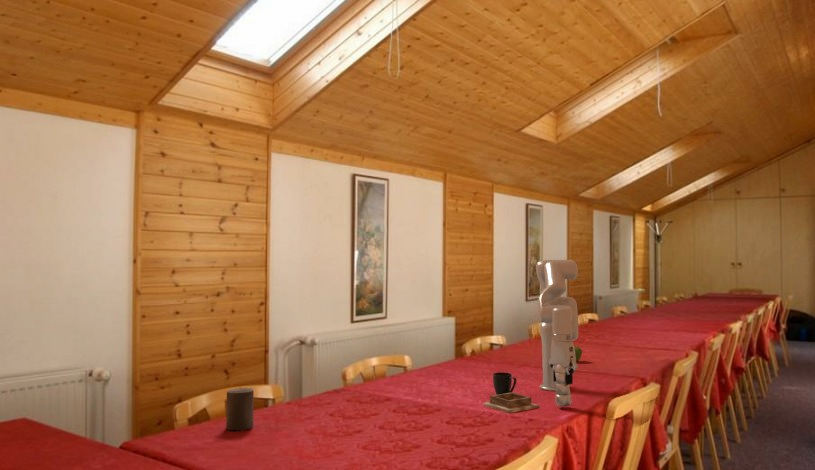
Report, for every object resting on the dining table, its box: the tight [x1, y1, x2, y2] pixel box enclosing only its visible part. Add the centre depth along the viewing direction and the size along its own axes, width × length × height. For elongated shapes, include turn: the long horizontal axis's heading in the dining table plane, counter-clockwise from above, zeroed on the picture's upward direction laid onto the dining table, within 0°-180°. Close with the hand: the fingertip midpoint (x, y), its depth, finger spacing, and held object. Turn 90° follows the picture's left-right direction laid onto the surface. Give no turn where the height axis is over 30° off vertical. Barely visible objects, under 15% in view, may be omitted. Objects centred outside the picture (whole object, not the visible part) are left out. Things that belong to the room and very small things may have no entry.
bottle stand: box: [482, 392, 540, 414], centre depth 255 cm, size 16×16×4 cm
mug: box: [492, 371, 518, 395], centre depth 275 cm, size 8×12×10 cm
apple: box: [574, 345, 583, 363], centre depth 362 cm, size 11×10×10 cm
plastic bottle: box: [554, 364, 572, 407], centre depth 251 cm, size 6×7×20 cm
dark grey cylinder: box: [225, 387, 255, 432], centre depth 228 cm, size 10×10×15 cm
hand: (563, 382), depth 251 cm, fingers closed on plastic bottle, 6 cm apart
